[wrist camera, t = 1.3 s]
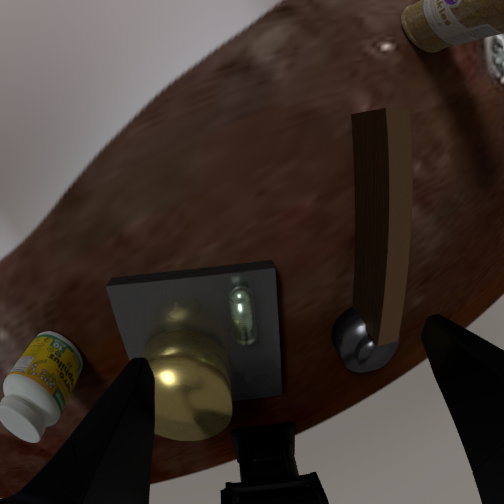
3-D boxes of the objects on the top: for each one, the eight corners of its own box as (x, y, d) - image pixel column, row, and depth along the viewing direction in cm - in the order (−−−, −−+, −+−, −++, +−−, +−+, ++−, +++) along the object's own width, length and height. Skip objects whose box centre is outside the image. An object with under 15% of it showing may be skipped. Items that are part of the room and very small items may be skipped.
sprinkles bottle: (393, 2, 17) (504, -62, 4) (435, 11, 17) (547, -31, 4) (406, 51, 18) (537, 10, 5) (447, 57, 18) (572, 35, 6)
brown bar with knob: (381, 346, 26) (406, 381, 21) (330, 357, 26) (349, 397, 21) (391, 116, 19) (432, 112, 15) (327, 114, 19) (357, 106, 14)
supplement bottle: (26, 334, 23) (-23, 399, 14) (65, 324, 23) (15, 397, 14) (55, 378, 25) (19, 447, 16) (94, 372, 25) (61, 450, 16)
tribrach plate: (279, 383, 27) (292, 437, 21) (150, 394, 26) (138, 447, 20) (271, 260, 23) (289, 302, 17) (112, 277, 22) (80, 322, 16)
